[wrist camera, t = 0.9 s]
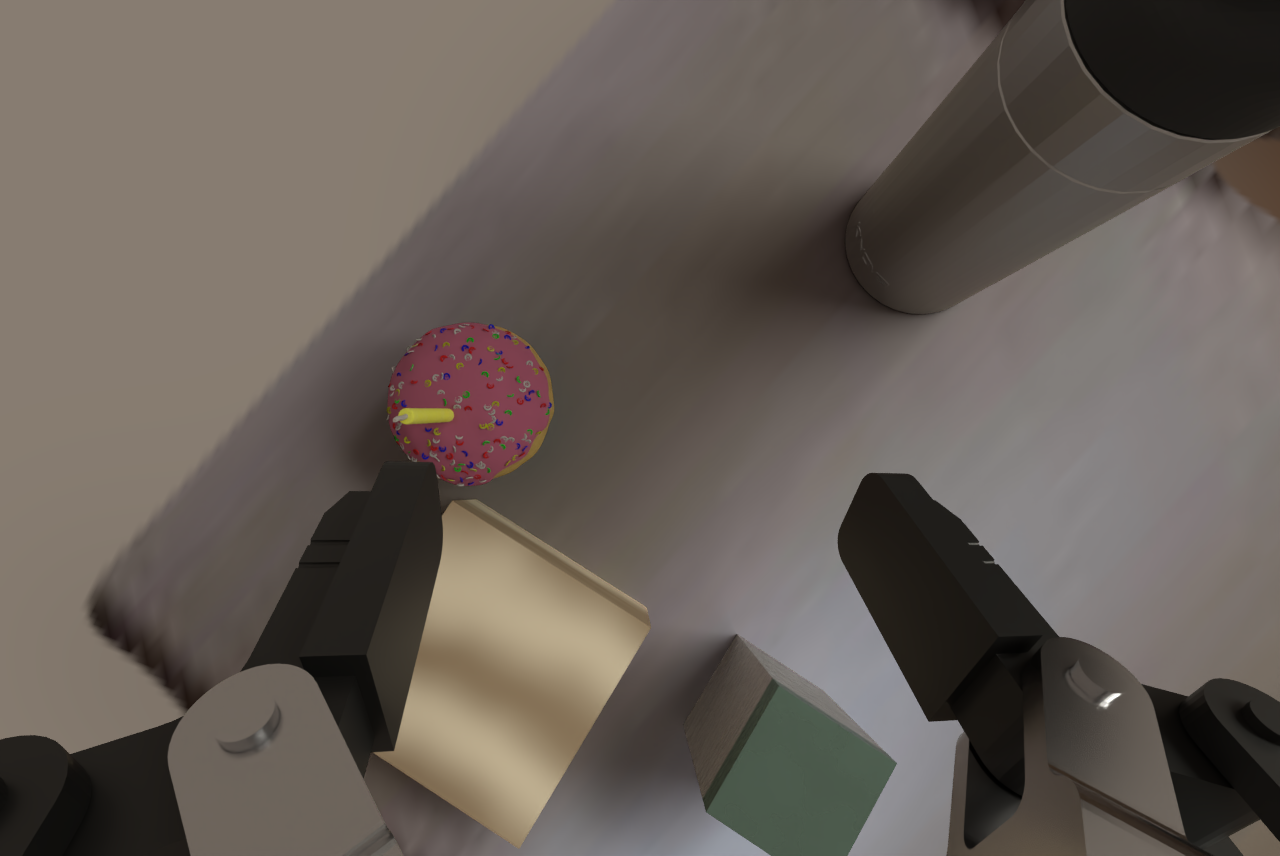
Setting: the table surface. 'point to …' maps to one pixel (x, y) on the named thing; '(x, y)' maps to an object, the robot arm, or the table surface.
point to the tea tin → (782, 758)
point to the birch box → (509, 669)
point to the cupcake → (470, 402)
